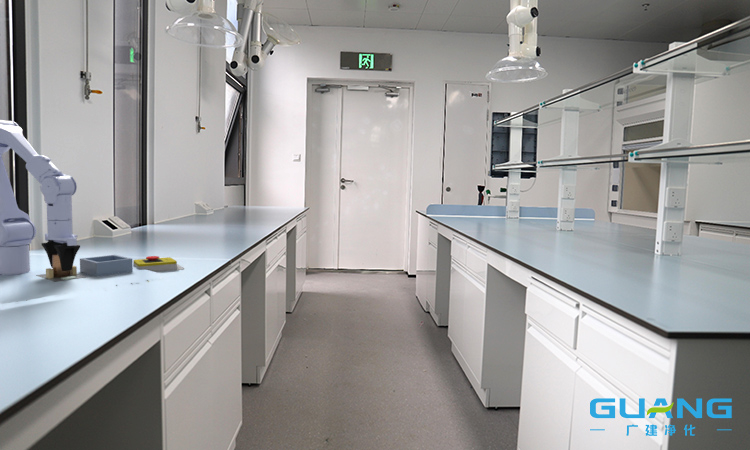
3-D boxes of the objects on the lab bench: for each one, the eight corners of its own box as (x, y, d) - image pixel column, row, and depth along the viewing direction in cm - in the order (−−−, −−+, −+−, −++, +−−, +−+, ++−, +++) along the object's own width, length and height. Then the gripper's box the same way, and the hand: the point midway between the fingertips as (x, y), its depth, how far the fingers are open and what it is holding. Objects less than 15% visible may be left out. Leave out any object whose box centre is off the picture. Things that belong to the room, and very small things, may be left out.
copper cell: (50, 276, 129) (49, 253, 129) (66, 274, 133) (65, 251, 132) (56, 278, 127) (56, 254, 127) (72, 276, 130) (72, 253, 130)
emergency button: (127, 256, 149) (177, 253, 158) (127, 270, 149) (177, 265, 158) (132, 260, 141) (184, 257, 150) (133, 275, 142) (184, 270, 151)
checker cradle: (35, 279, 130) (35, 266, 130) (67, 275, 137) (67, 262, 136) (55, 286, 123) (54, 272, 123) (87, 281, 130) (87, 268, 130)
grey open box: (80, 275, 137) (79, 258, 136) (115, 270, 145) (114, 254, 144) (97, 280, 131) (96, 263, 131) (132, 275, 139) (132, 258, 139)
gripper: (88, 221, 128) (89, 270, 129) (64, 217, 136) (65, 263, 137) (59, 222, 122) (60, 274, 123) (35, 218, 130) (37, 266, 131)
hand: (61, 268), depth 130 cm, fingers open, 6 cm apart
